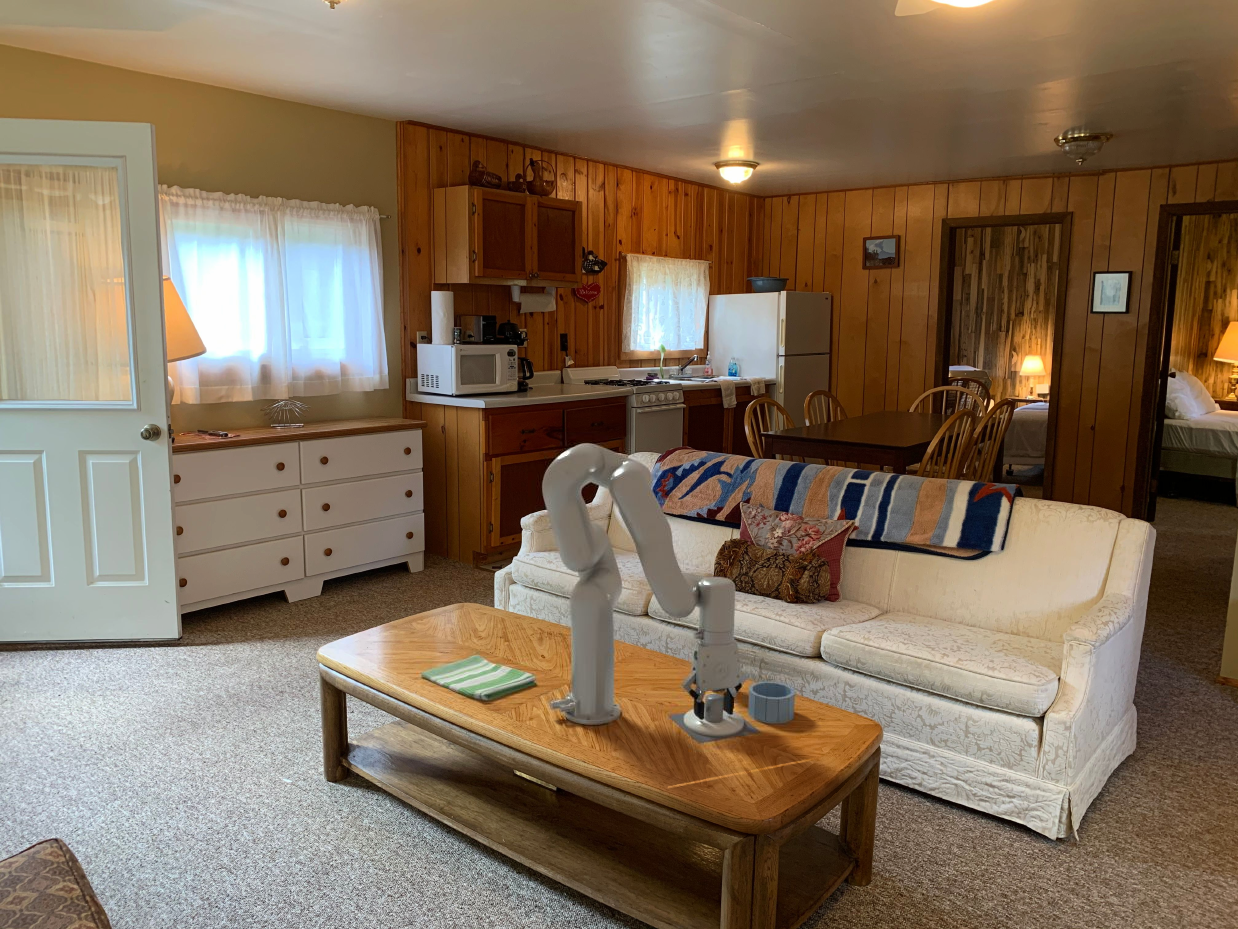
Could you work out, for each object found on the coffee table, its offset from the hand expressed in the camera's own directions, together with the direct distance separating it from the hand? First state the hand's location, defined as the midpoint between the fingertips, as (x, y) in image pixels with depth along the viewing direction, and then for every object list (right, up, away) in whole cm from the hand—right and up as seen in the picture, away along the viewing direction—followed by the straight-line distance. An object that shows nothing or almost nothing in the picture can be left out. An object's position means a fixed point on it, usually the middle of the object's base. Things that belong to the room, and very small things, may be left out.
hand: (713, 714), depth 202 cm
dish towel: (-55, +1, +25) cm, 60 cm away
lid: (0, -2, 0) cm, 2 cm away
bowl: (+13, -2, +6) cm, 15 cm away
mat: (0, -2, 0) cm, 3 cm away
